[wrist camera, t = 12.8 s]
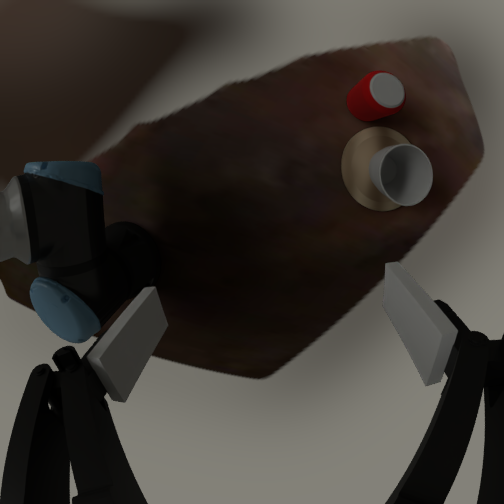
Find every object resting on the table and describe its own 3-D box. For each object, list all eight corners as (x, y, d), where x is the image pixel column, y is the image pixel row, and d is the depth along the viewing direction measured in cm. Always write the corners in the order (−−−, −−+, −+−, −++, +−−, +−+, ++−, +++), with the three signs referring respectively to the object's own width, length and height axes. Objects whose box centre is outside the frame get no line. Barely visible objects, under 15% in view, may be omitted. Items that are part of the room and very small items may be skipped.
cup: (412, 179, 39) (441, 188, 30) (374, 202, 42) (395, 216, 32) (390, 136, 37) (416, 133, 28) (350, 158, 40) (368, 161, 30)
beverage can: (339, 90, 37) (357, 70, 26) (373, 84, 35) (400, 64, 24) (352, 125, 39) (374, 117, 27) (385, 118, 37) (416, 109, 26)
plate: (343, 212, 44) (344, 213, 43) (336, 127, 39) (337, 126, 38) (417, 208, 42) (420, 209, 41) (414, 128, 37) (416, 128, 36)
